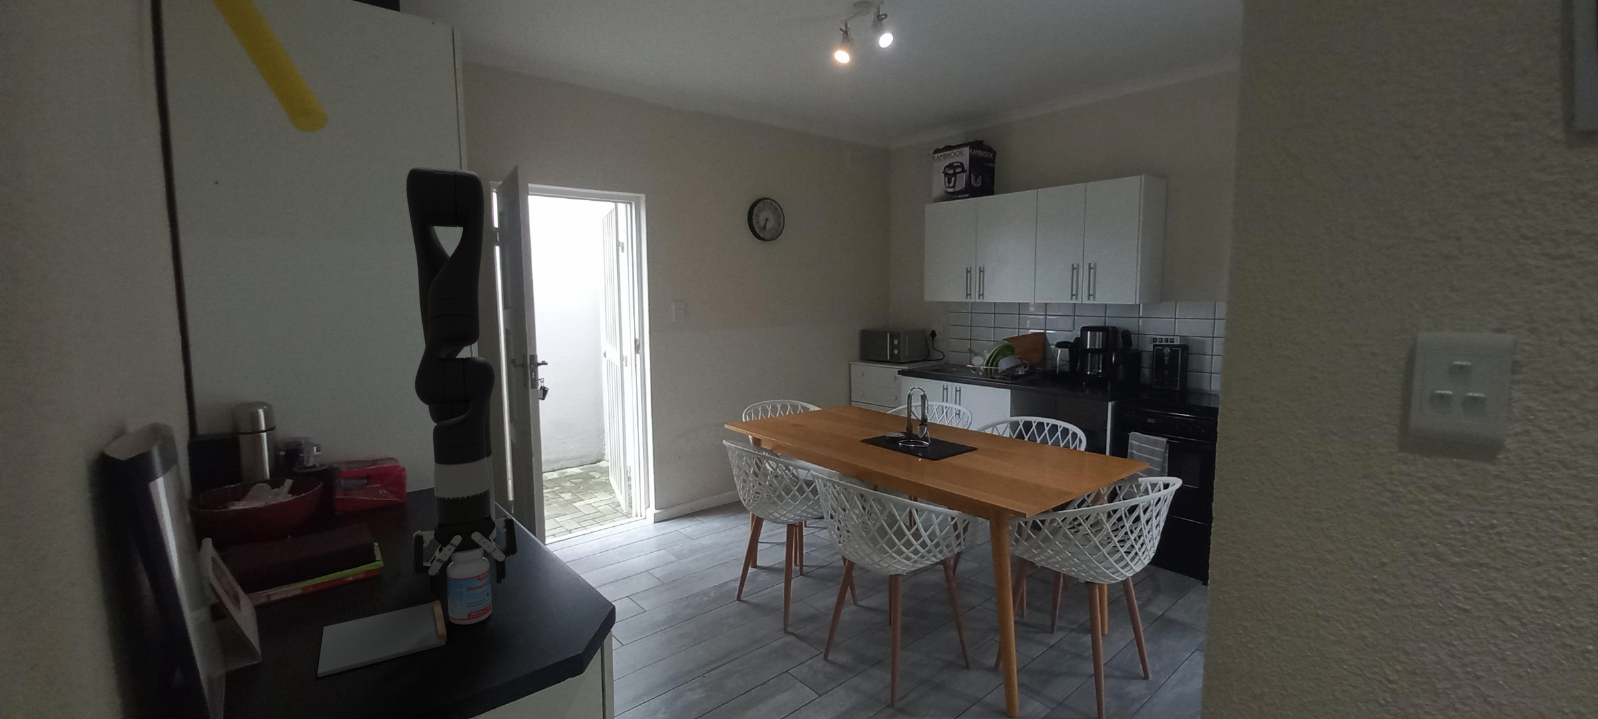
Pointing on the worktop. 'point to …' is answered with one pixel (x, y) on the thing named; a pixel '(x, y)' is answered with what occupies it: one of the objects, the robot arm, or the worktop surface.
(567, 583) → the worktop surface
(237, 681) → the worktop surface
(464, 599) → the pill bottle
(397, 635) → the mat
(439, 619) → the bar
